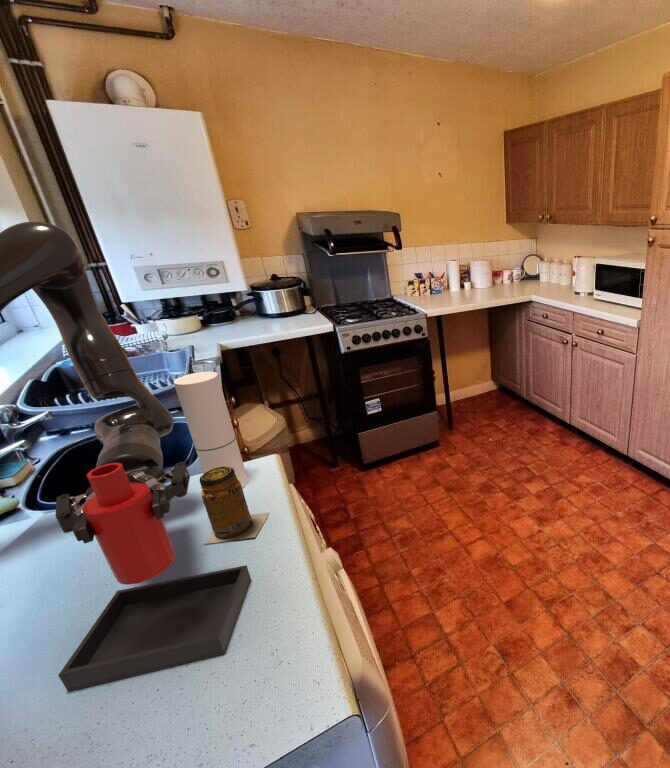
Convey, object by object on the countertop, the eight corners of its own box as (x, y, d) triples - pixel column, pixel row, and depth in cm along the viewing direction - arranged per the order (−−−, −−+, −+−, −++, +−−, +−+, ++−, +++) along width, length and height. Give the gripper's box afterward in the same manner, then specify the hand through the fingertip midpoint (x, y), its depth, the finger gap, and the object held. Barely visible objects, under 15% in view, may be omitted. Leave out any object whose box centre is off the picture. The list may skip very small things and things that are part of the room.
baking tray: (67, 692, 54) (57, 675, 52) (124, 605, 65) (117, 590, 64) (224, 654, 58) (218, 638, 57) (251, 579, 70) (246, 564, 68)
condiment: (222, 518, 84) (205, 464, 80) (269, 513, 85) (255, 460, 81) (204, 545, 77) (184, 488, 73) (255, 538, 78) (238, 482, 74)
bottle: (106, 589, 54) (56, 489, 49) (131, 554, 60) (89, 460, 54) (163, 578, 56) (121, 479, 50) (183, 545, 61) (147, 452, 56)
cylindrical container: (242, 473, 99) (212, 369, 90) (252, 485, 94) (221, 377, 85) (206, 486, 94) (170, 378, 85) (214, 500, 89) (177, 387, 80)
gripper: (54, 459, 60) (25, 524, 47) (181, 428, 68) (185, 477, 55) (75, 504, 63) (54, 576, 50) (195, 469, 71) (202, 524, 58)
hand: (123, 524), depth 53 cm, fingers closed on bottle, 6 cm apart
